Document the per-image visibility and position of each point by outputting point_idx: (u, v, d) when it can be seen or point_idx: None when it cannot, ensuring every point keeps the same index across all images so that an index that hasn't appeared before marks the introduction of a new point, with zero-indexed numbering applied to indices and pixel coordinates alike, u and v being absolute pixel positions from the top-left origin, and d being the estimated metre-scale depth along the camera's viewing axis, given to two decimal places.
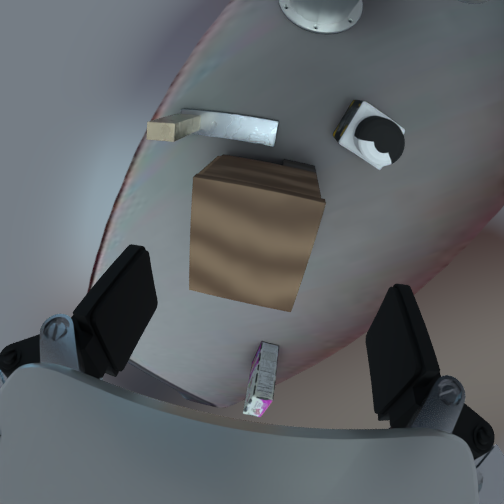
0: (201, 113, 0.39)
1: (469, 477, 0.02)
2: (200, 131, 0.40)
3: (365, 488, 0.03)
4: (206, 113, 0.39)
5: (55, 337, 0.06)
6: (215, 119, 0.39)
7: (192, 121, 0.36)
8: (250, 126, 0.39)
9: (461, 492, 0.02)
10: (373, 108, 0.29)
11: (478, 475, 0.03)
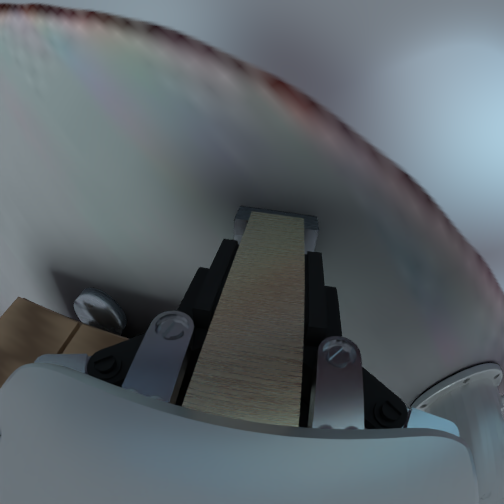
0: None
1: (469, 477, 0.02)
2: None
3: (365, 488, 0.03)
4: None
5: (166, 334, 0.07)
6: None
7: None
8: None
9: (461, 492, 0.02)
10: None
11: None
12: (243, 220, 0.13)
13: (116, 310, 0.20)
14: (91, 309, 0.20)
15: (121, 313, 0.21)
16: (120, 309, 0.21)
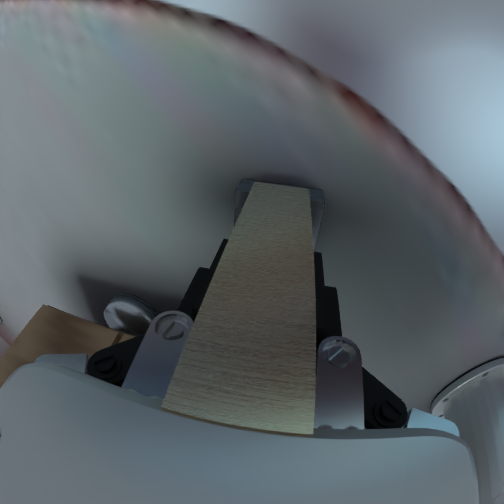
0: None
1: (469, 477, 0.02)
2: None
3: (365, 488, 0.03)
4: None
5: (166, 334, 0.07)
6: None
7: None
8: None
9: (461, 492, 0.02)
10: None
11: None
12: (245, 191, 0.12)
13: (146, 312, 0.20)
14: (120, 317, 0.20)
15: (153, 314, 0.20)
16: (150, 310, 0.20)
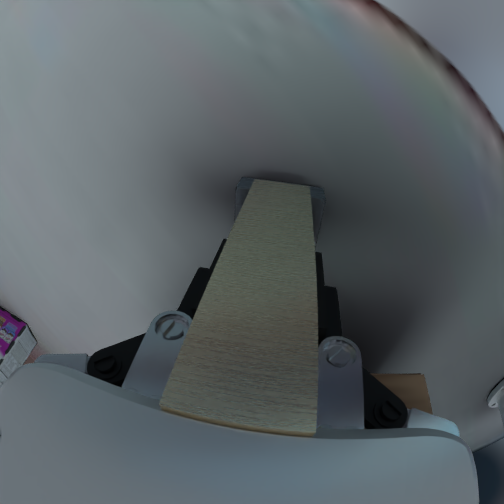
0: None
1: (469, 477, 0.02)
2: None
3: (365, 488, 0.03)
4: None
5: (166, 334, 0.07)
6: None
7: None
8: None
9: (461, 492, 0.02)
10: None
11: None
12: (245, 189, 0.12)
13: None
14: None
15: None
16: None
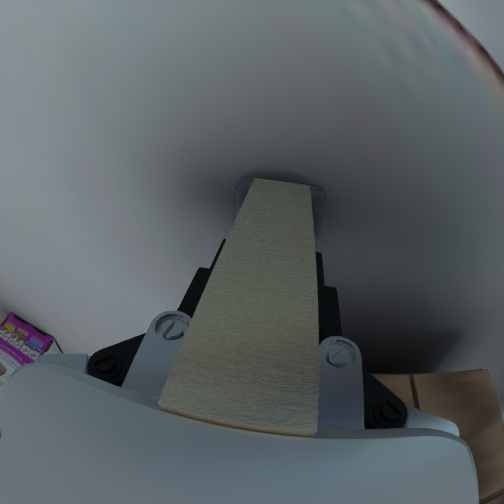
0: None
1: (469, 477, 0.02)
2: None
3: (365, 488, 0.03)
4: None
5: (166, 334, 0.07)
6: None
7: None
8: None
9: (461, 492, 0.02)
10: None
11: None
12: (245, 188, 0.12)
13: None
14: None
15: None
16: None
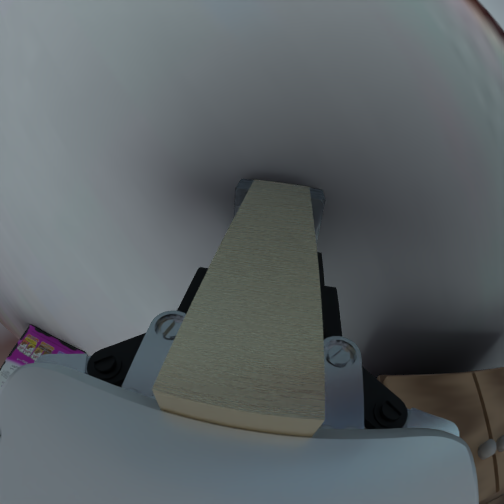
0: None
1: (469, 477, 0.02)
2: None
3: (365, 488, 0.03)
4: None
5: (166, 334, 0.07)
6: None
7: None
8: None
9: (461, 492, 0.02)
10: None
11: None
12: (245, 189, 0.12)
13: None
14: None
15: None
16: None
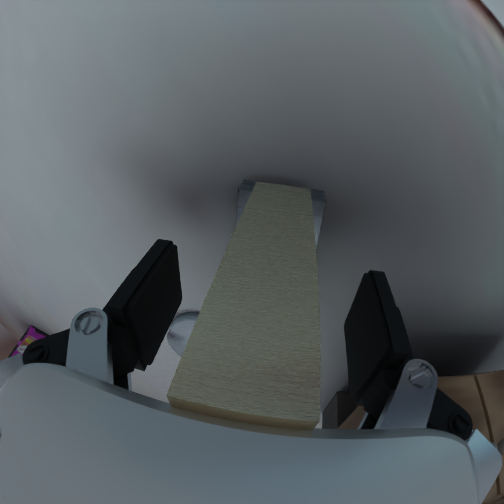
0: None
1: (469, 477, 0.02)
2: None
3: (365, 488, 0.03)
4: None
5: (86, 331, 0.06)
6: None
7: None
8: None
9: (461, 492, 0.02)
10: None
11: None
12: (247, 191, 0.12)
13: None
14: (186, 337, 0.19)
15: None
16: None
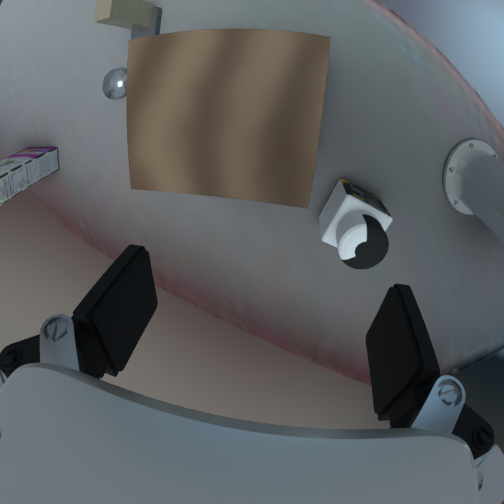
0: (153, 27, 0.26)
1: (469, 477, 0.02)
2: (134, 32, 0.27)
3: (365, 488, 0.03)
4: (152, 32, 0.27)
5: (55, 337, 0.06)
6: None
7: (134, 25, 0.24)
8: None
9: (461, 492, 0.02)
10: (386, 228, 0.32)
11: (478, 475, 0.03)
12: None
13: None
14: (109, 80, 0.31)
15: (124, 69, 0.31)
16: None
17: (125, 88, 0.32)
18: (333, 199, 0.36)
